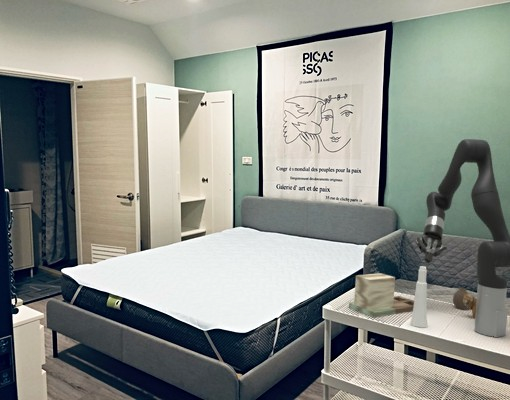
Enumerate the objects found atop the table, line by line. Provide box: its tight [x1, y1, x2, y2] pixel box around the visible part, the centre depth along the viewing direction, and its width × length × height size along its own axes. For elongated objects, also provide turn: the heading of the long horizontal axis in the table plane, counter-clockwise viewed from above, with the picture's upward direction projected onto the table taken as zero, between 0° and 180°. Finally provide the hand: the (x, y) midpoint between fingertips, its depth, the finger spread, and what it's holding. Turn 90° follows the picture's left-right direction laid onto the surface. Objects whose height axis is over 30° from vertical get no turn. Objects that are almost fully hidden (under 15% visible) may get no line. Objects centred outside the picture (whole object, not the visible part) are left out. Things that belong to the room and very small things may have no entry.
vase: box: [452, 287, 469, 310], centre depth 190 cm, size 7×7×9 cm
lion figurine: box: [463, 293, 477, 319], centre depth 175 cm, size 15×5×9 cm, turn 49°
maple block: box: [353, 272, 396, 310], centre depth 180 cm, size 8×14×12 cm, turn 120°
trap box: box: [348, 295, 414, 318], centre depth 184 cm, size 14×30×2 cm, turn 120°
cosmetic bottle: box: [409, 265, 428, 329], centre depth 164 cm, size 6×6×22 cm
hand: (427, 261), depth 179 cm, fingers closed
